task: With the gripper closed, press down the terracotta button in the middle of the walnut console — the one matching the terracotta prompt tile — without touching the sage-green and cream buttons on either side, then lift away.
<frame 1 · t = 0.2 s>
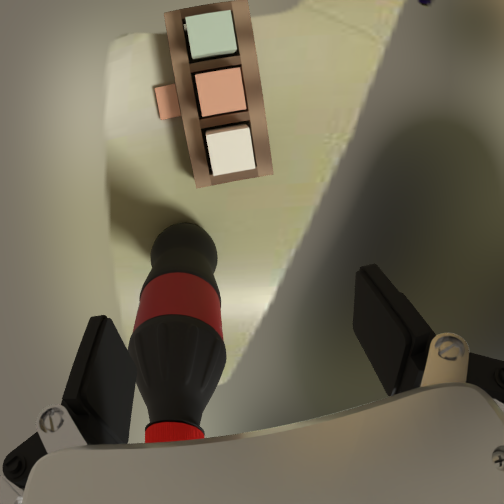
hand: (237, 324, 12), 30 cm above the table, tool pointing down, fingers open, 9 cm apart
cola bottle: (185, 245, 43), on the table
cream button: (229, 148, 34), point 3 cm above the table, slide at 0.0 cm
terracotta button: (220, 91, 31), point 3 cm above the table, slide at 0.0 cm
prompt tile: (168, 101, 34), on the table
walnut console: (218, 91, 34), on the table
sage button: (210, 35, 28), point 3 cm above the table, slide at 0.0 cm
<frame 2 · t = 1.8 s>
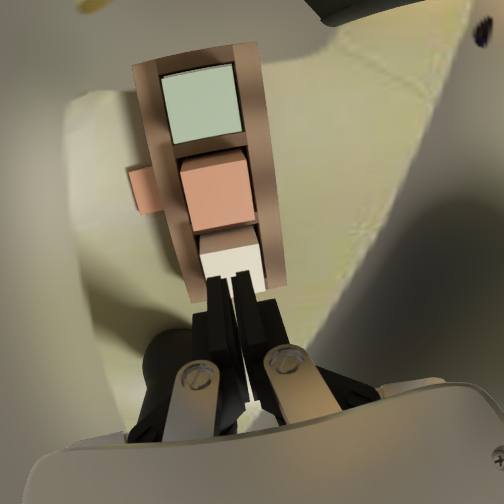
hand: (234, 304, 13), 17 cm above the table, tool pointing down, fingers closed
cola bottle: (181, 346, 36), on the table
cream button: (232, 260, 27), point 4 cm above the table, slide at 0.0 cm
terracotta button: (217, 187, 24), point 4 cm above the table, slide at 0.0 cm
prompt tile: (148, 189, 27), on the table
walnut console: (216, 175, 27), on the table
sage button: (202, 102, 21), point 4 cm above the table, slide at 0.0 cm
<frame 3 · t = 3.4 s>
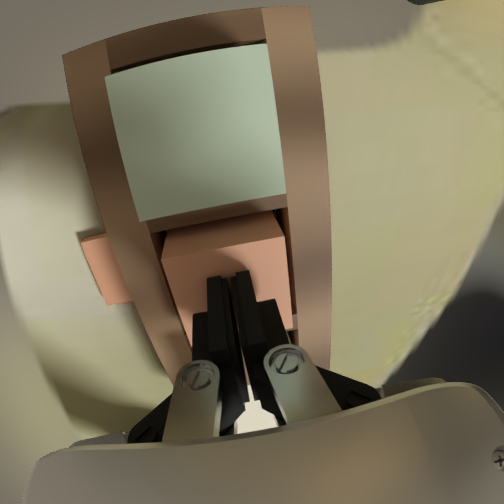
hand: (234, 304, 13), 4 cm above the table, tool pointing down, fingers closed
cream button: (252, 380, 17), point 3 cm above the table, slide at 0.0 cm
terracotta button: (229, 270, 14), point 2 cm above the table, slide at -1.1 cm, touching gripper
prompt tile: (115, 267, 16), on the table
walnut console: (225, 245, 16), on the table
sage button: (199, 125, 10), point 3 cm above the table, slide at 0.0 cm
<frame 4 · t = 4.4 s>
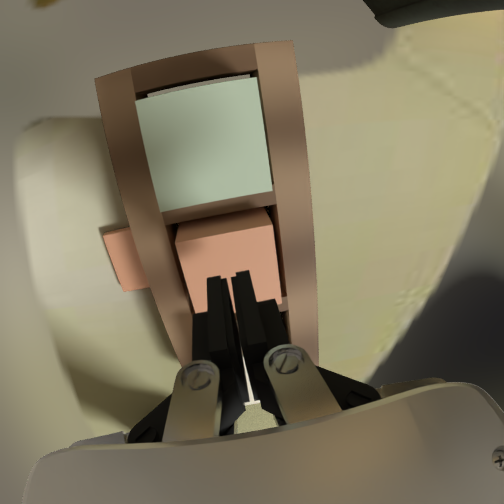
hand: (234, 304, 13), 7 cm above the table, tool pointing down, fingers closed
cream button: (250, 357, 19), point 4 cm above the table, slide at 0.0 cm
terracotta button: (229, 256, 17), point 2 cm above the table, slide at -1.3 cm
prompt tile: (132, 257, 19), on the table
walnut console: (226, 239, 19), on the table
sage button: (205, 138, 13), point 3 cm above the table, slide at 0.0 cm
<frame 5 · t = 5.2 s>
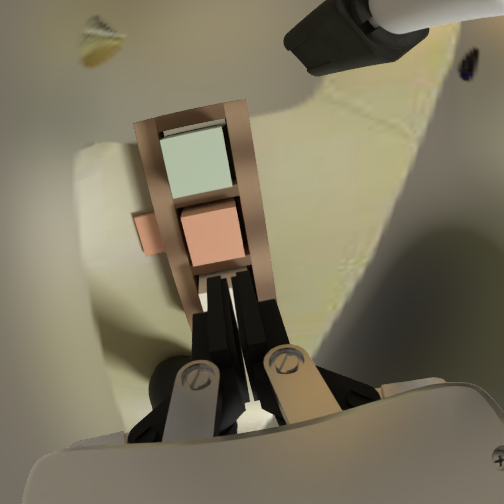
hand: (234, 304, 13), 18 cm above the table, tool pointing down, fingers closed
cola bottle: (184, 372, 38), on the table
cream button: (228, 297, 30), point 4 cm above the table, slide at 0.0 cm
terracotta button: (213, 228, 28), point 2 cm above the table, slide at -1.3 cm
prompt tile: (152, 232, 30), on the table
walnut console: (213, 220, 30), on the table
sage button: (197, 158, 24), point 3 cm above the table, slide at 0.0 cm
candle: (316, 45, 24), on the table
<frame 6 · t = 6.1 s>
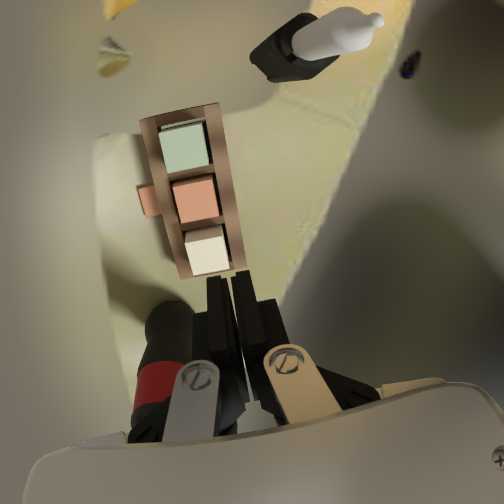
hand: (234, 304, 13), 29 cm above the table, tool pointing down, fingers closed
cola bottle: (174, 316, 49), on the table
cream button: (207, 248, 40), point 3 cm above the table, slide at 0.0 cm
terracotta button: (196, 196, 38), point 2 cm above the table, slide at -1.3 cm
prompt tile: (151, 200, 40), on the table
walnut console: (197, 190, 40), on the table
sage button: (184, 145, 34), point 3 cm above the table, slide at 0.0 cm
candle: (275, 58, 33), on the table
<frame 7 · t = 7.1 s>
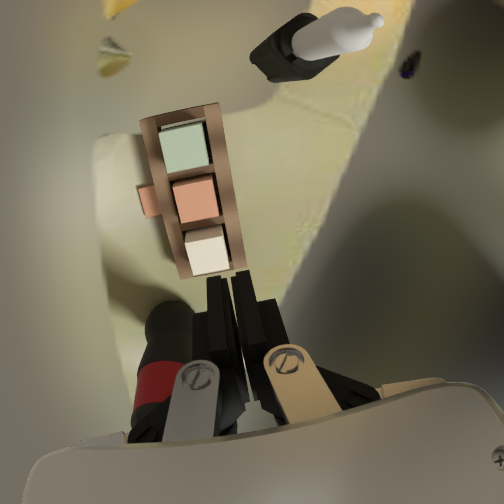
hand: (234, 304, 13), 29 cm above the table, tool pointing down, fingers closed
cola bottle: (174, 316, 49), on the table
cream button: (207, 248, 40), point 3 cm above the table, slide at 0.0 cm
terracotta button: (196, 196, 38), point 2 cm above the table, slide at -1.3 cm
prompt tile: (151, 200, 40), on the table
walnut console: (197, 190, 40), on the table
sage button: (184, 145, 34), point 3 cm above the table, slide at 0.0 cm
candle: (275, 58, 33), on the table
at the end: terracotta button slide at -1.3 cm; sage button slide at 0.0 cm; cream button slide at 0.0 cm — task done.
